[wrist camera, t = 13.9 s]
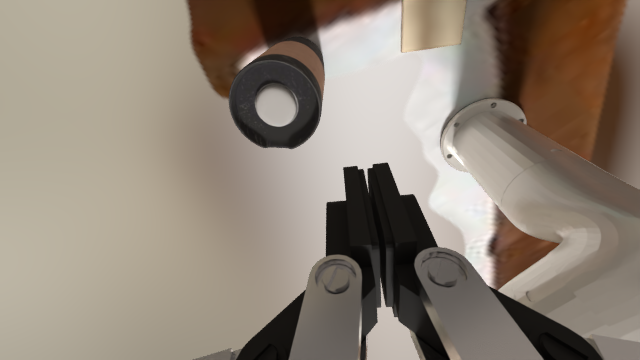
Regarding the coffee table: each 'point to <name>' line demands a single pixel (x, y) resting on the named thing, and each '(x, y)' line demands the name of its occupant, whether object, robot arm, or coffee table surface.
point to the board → (431, 24)
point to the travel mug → (280, 94)
